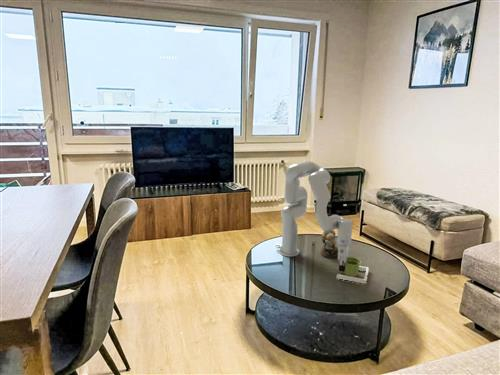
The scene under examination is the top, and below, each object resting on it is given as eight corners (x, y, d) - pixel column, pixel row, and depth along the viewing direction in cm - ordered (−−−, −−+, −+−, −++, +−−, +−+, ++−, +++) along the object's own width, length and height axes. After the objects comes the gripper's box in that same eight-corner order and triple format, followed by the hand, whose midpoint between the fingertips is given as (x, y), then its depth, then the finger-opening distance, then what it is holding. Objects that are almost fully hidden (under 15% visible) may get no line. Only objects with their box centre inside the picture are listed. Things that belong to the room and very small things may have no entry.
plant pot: (362, 274, 190) (364, 260, 188) (354, 281, 183) (355, 266, 181) (347, 268, 196) (348, 255, 194) (339, 274, 190) (340, 260, 188)
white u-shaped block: (336, 279, 186) (336, 273, 185) (340, 266, 199) (341, 261, 198) (365, 284, 180) (366, 279, 179) (368, 271, 193) (368, 266, 192)
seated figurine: (340, 260, 207) (341, 234, 202) (320, 258, 209) (321, 233, 205) (338, 247, 224) (340, 223, 219) (320, 246, 226) (321, 222, 222)
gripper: (349, 247, 179) (346, 278, 183) (352, 236, 192) (350, 266, 197) (334, 245, 181) (332, 275, 186) (339, 234, 195) (337, 263, 200)
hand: (341, 270), depth 191 cm, fingers closed
